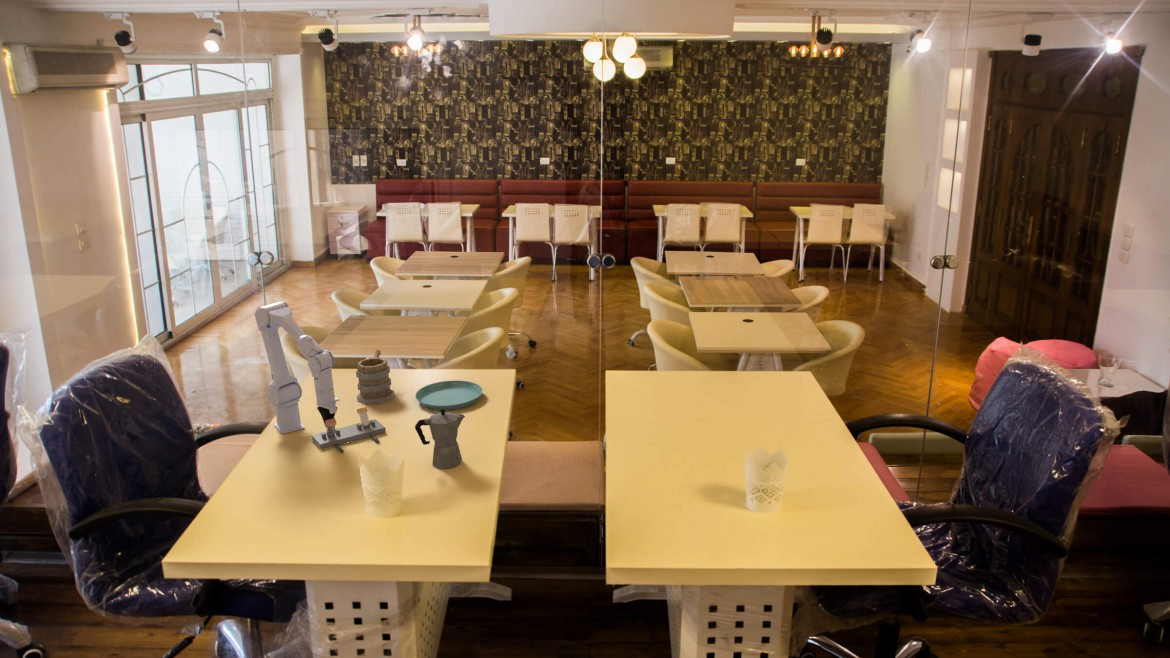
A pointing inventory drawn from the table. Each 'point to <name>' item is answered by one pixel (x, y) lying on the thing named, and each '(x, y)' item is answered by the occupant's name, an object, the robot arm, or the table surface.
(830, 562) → the table surface
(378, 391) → the tankard
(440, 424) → the coffeepot
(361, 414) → the lever
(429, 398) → the saucer
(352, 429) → the breaker block
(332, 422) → the lever
